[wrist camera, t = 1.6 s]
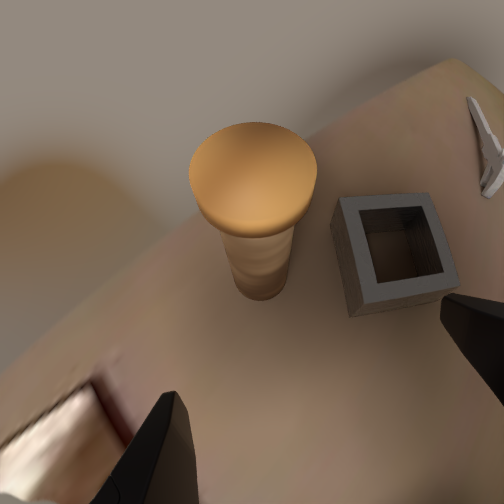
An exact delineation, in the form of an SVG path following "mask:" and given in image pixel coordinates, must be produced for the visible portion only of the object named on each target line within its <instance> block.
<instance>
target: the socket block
mask: <svg viewBox="0 0 504 504" xmlns="http://www.w3.org/2000/svg"><path fill="white" fill-rule="evenodd" d="M330 226H331V231H332V235H333V239H334V244H335V248H336V253H337V257H338V262H339V267H340V272H341V276H342V281H343V287H344V292H345V297H346V302H347V308H348V313H349V318H350V317H356V316H362V315H368V314H373V313H379V312H385V311H390V310H395V309H400V308H406V307H411V306H416V305H420V304H425V303H430V302H434V301H437V300H439V299H440V298H442V297H444V296H445V295H447V294H448V293H450V292H451V291H453V290H455V289H456V288H458V287H459V286H460V282H459V278H458V275H457V271H456V268H455V265H454V261H453V258H452V255H451V252H450V249H449V246H448V243H447V240H446V237H445V234H444V231H443V228H442V226H441V223H440V220H439V218H438V215H437V212H436V210H435V207H434V205H433V202H432V200H431V197H430V195H429V193H407V194H388V195H371V196H355V197H341V198H339V199H338V202H337V205H336V208H335V211H334V214H333V217H332V220H331V223H330ZM397 230H405V233H406V237H407V240H408V243H409V246H410V250H411V253H412V256H413V260H414V263H415V267H416V271H417V274H418V277H416V278H410V279H404V280H398V281H391V282H385V283H378V284H377V280H376V275H375V271H374V267H373V263H372V259H371V255H370V251H369V247H368V243H367V240H366V236H365V234H367V233H377V232H387V231H397Z"/></svg>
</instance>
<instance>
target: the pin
mask: <svg viewBox="0 0 504 504" xmlns="http://www.w3.org/2000/svg"><path fill="white" fill-rule="evenodd" d="M316 175H317V164H316V159H315V157H314V154H313V152H312V150H311V149H310V147H309V146H308V144H307V143H306V142H305V141H304V140H303V139H302V138H301V137H299V136H298V135H297V134H295V133H293V132H292V131H290V130H288V129H286V128H284V127H281V126H278V125H274V124H270V123H262V122H250V123H241V124H236V125H232V126H229V127H227V128H224V129H222V130H219V131H218V132H216V133H214V134H212V135H211V136H210V137H208V138H207V139H206V140H205V141H204V142H203V143H202V144H201V145H200V146H199V148H198V149H197V150H196V152H195V153H194V155H193V157H192V160H191V163H190V167H189V180H190V184H191V187H192V190H193V193H194V195H195V198H196V201H197V204H198V207H199V209H200V211H201V213H202V214H203V216H204V217H205V218H206V220H207V221H208V222H209V223H210V224H212V225H213V226H214V227H215V228H217V229H218V230H220V233H221V237H222V240H223V243H224V247H225V250H226V253H227V257H228V260H229V263H230V267H231V270H232V273H233V277H234V280H235V283H236V286H237V288H238V289H239V291H240V292H241V293H242V294H243V295H244V296H246V297H247V298H249V299H252V300H257V301H264V300H268V299H271V298H273V297H275V296H276V295H278V294H279V293H280V292H281V290H282V289H283V287H284V285H285V282H286V277H287V271H288V265H289V258H290V252H291V245H292V239H293V232H294V225H295V224H296V223H297V222H298V221H299V220H300V219H301V218H302V217H303V216H304V215H305V213H306V212H307V210H308V208H309V206H310V203H311V200H312V196H313V191H314V186H315V181H316Z"/></svg>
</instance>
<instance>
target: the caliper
mask: <svg viewBox="0 0 504 504" xmlns="http://www.w3.org/2000/svg"><path fill="white" fill-rule="evenodd" d="M467 100H468V107H469V109H470V112H471V114H472V116H473V118H474V121H475V123H476V125H477V128H478V130H479V133H480V135H481V138H482V141H483V143H484V145H483V148H482V152H483V153H484V157H485V158H486V159H487V160H488V164H487V166H486V169H485V171H484V174H483V176H482V179H481V181H480V185H481V186H483V187H485V188H484V190H483V192H482V193H481V194H482V195H483V196H485V197H487V198H489V199H490V198H491V196H492V195H493V194H494V193H495V192H496V191H497V190H498V188H499V187H500V186H501V185H502V183H503V181H504V148H503V150H502V148H501V146H500V144H499V142H498V139H497V137H496V136H494V135H493V134H492V132H491V130H490V127H489V125H488V123H487V121H486V119H485V117H484V115H483V113H482V111H481V109H480V107H479V105H478V103H477V101H476V99H474V98H472V97H467Z"/></svg>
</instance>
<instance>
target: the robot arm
mask: <svg viewBox="0 0 504 504" xmlns="http://www.w3.org/2000/svg"><path fill="white" fill-rule="evenodd" d="M440 320H441V323H442V324H443V326H444V327H445V329H446V330H447V332H448V333H449V334H450V336H451V337H452V339H453V340H454V342H455V343H456V345H457V346H458V348H459V349H460V351H461V352H462V353H463V355H464V356H465V357H466V359H467V360H468V361H469V362H470V363H471V365H472V366H473V367H474V368H475V370H476V371H477V372H478V373H479V375H480V376H481V377H482V378H483V380H484V381H485V382H486V384H487V385H488V386H489V387H490V389H491V390H492V391H493V393H494V394H495V395H496V397H497V398H498V399H499V401H500V402H501V403H502V405H503V406H504V303H502V302H497V301H491V300H486V299H481V298H476V297H471V296H466V295H460V294H455V293H450V294H448V295H446V296H444V297H443V298H442V301H441V311H440ZM110 475H111V476H108V478H107V479H106V481H105V482H104V484H103V485H102V487H101V488H100V490H99V491H98V493H97V494H96V495H95V497H94V498H93V499H92V501H91V502H90V503H89V504H199V497H198V484H197V469H196V456H195V450H194V444H193V439H192V433H191V427H190V422H189V415H188V411H187V409H186V407H185V405H184V403H183V402H182V400H181V398H180V396H179V395H178V393H177V392H176V391H170V392H165V393H163V394H162V395H161V396H160V398H159V399H158V401H157V402H156V404H155V405H154V407H153V409H152V410H151V412H150V413H149V415H148V416H147V418H146V419H145V421H144V422H143V424H142V425H141V427H140V429H139V430H138V432H137V433H136V435H135V436H134V438H133V439H132V441H131V442H130V444H129V446H128V447H127V449H126V450H125V452H124V453H123V455H122V456H121V458H120V459H119V461H118V462H117V464H116V466H115V467H114V469H113V470H112V472H111V473H110Z"/></svg>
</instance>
